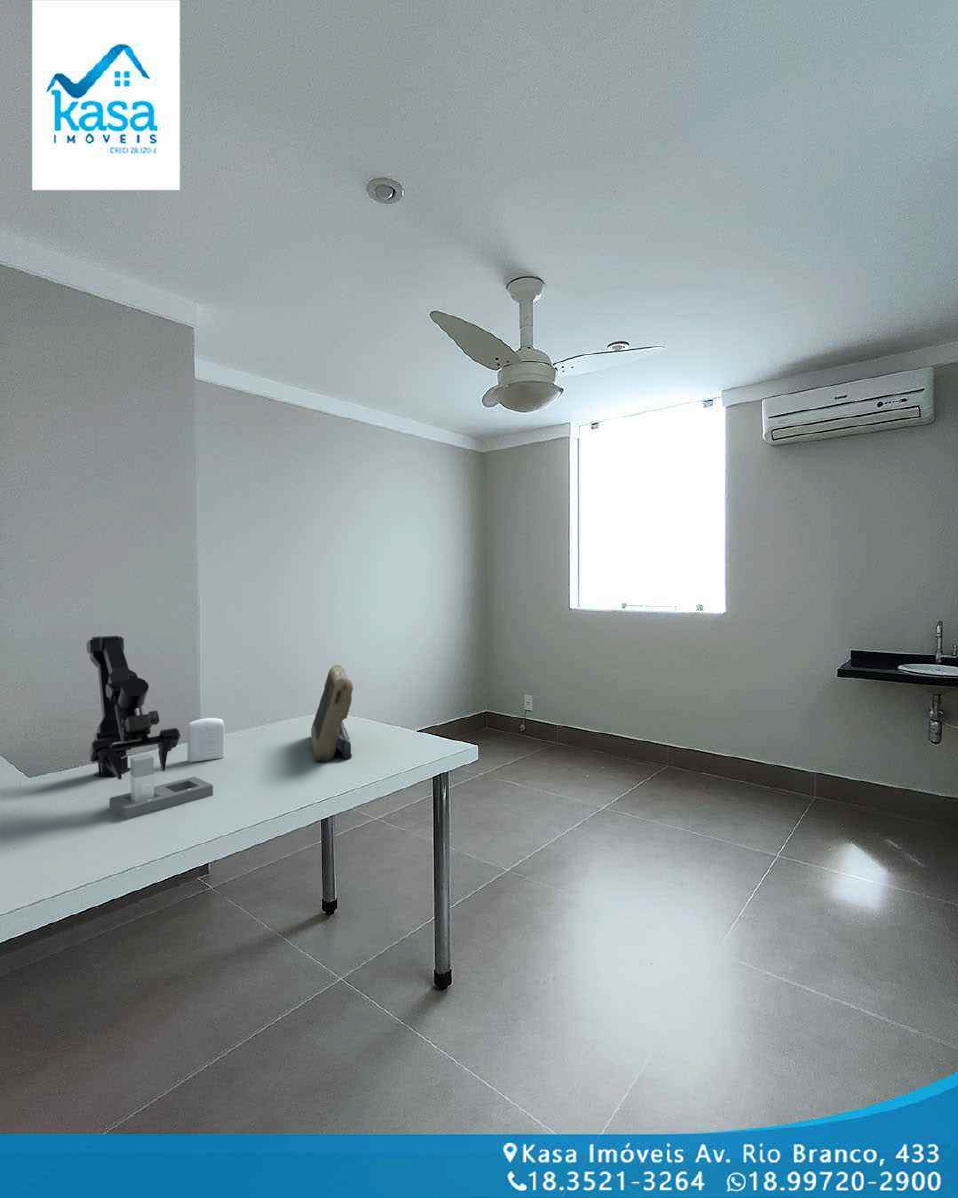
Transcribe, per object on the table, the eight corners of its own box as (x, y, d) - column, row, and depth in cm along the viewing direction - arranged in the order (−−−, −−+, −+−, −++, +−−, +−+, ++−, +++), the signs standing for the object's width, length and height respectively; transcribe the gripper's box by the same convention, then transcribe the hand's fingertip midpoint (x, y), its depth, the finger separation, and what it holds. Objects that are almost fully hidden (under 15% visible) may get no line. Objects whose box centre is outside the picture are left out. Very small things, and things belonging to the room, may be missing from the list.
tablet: (303, 736, 204) (302, 665, 203) (343, 733, 209) (343, 663, 208) (315, 764, 174) (314, 680, 173) (362, 759, 179) (361, 677, 178)
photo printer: (223, 754, 183) (222, 715, 182) (225, 758, 179) (225, 717, 179) (186, 760, 177) (186, 719, 176) (188, 763, 173) (188, 722, 173)
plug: (131, 806, 141) (130, 757, 140) (149, 802, 143) (149, 753, 143) (136, 812, 137) (135, 761, 137) (155, 808, 140) (154, 758, 139)
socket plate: (109, 808, 139) (109, 797, 139) (194, 785, 155) (194, 775, 155) (125, 819, 133) (125, 807, 133) (212, 794, 149) (212, 784, 148)
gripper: (90, 706, 137) (101, 764, 129) (177, 696, 150) (191, 748, 142) (85, 733, 143) (94, 790, 135) (169, 721, 156) (182, 772, 148)
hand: (142, 774), depth 140 cm, fingers open, 9 cm apart
